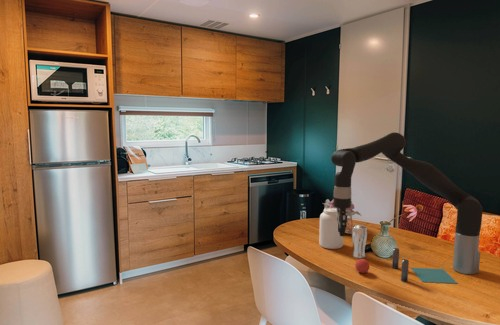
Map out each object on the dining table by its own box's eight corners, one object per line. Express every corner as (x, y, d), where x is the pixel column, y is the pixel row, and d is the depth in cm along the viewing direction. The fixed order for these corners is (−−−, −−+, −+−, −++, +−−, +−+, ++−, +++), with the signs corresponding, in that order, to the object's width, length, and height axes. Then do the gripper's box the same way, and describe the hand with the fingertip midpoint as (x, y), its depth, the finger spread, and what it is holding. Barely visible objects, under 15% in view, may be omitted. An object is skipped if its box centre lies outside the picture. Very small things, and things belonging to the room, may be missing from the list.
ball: (367, 269, 160) (368, 257, 159) (370, 275, 154) (371, 262, 153) (354, 269, 161) (354, 256, 160) (356, 274, 155) (356, 261, 154)
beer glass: (356, 259, 172) (357, 229, 170) (348, 254, 178) (349, 225, 176) (368, 258, 173) (370, 228, 172) (360, 252, 180) (361, 224, 178)
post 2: (406, 279, 150) (407, 259, 149) (408, 282, 148) (409, 261, 147) (400, 279, 150) (401, 258, 149) (402, 282, 148) (403, 261, 147)
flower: (372, 227, 216) (356, 189, 221) (362, 234, 197) (345, 192, 202) (342, 236, 226) (327, 199, 231) (330, 243, 207) (315, 203, 212)
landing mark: (443, 269, 160) (443, 268, 160) (457, 283, 146) (457, 283, 146) (410, 268, 162) (410, 267, 162) (422, 282, 148) (422, 281, 148)
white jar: (340, 241, 197) (341, 206, 194) (344, 249, 184) (345, 212, 182) (318, 241, 198) (318, 206, 195) (320, 249, 185) (321, 211, 183)
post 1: (397, 266, 163) (398, 247, 162) (399, 269, 161) (400, 250, 159) (391, 266, 163) (392, 247, 162) (393, 268, 161) (394, 249, 160)
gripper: (354, 200, 147) (352, 239, 149) (348, 192, 161) (347, 229, 163) (335, 199, 148) (334, 239, 150) (331, 192, 162) (330, 228, 164)
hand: (341, 233), depth 156 cm, fingers open, 4 cm apart
